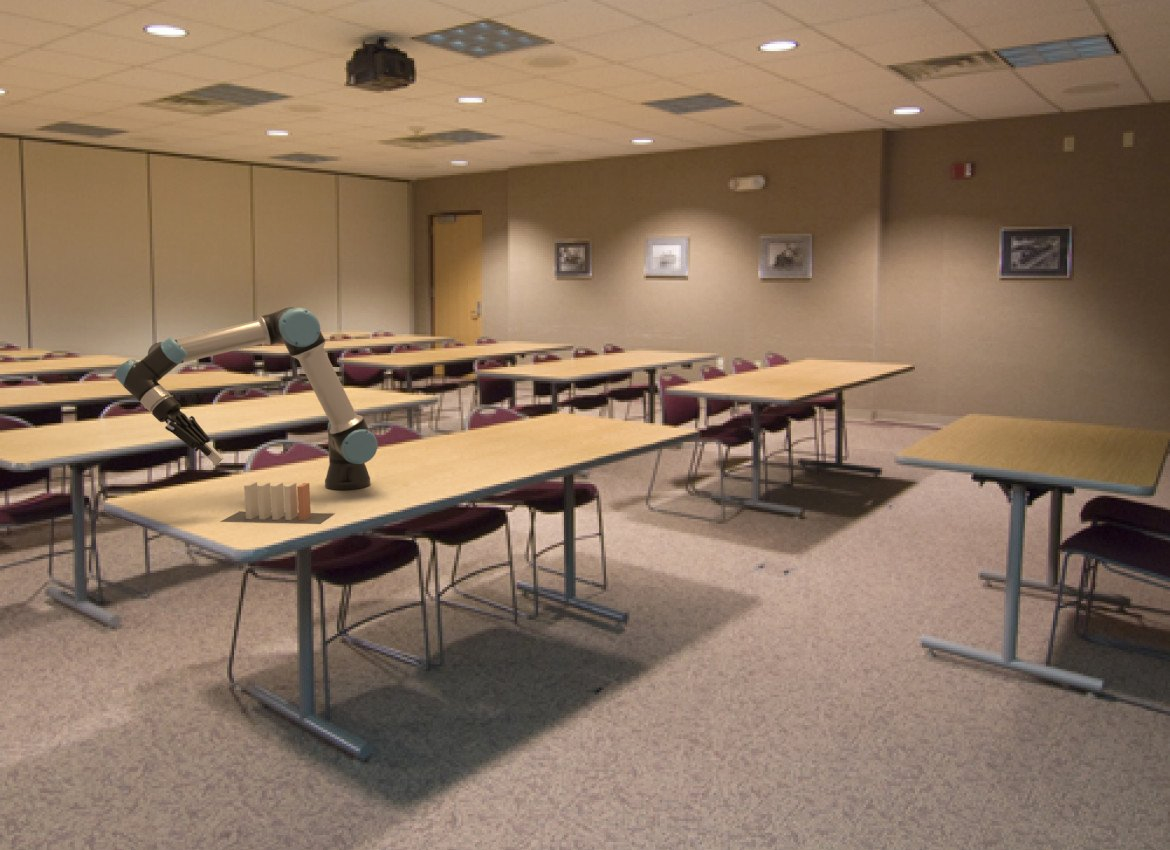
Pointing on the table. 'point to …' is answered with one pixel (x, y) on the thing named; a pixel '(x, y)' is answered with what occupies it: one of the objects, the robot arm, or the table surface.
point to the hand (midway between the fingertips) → (219, 461)
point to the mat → (313, 519)
